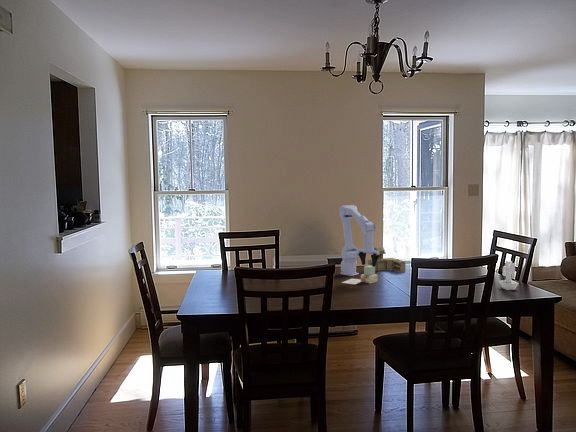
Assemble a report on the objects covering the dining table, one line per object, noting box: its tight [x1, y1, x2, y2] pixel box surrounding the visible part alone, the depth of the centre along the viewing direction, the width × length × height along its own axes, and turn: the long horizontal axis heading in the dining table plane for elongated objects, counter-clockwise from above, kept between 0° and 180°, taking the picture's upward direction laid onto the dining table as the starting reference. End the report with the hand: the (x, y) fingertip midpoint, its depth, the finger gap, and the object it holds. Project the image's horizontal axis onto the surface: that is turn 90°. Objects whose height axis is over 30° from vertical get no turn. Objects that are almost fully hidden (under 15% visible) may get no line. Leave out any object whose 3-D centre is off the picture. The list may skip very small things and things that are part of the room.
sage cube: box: [363, 264, 376, 276], centre depth 265 cm, size 4×4×5 cm
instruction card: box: [341, 278, 362, 285], centre depth 267 cm, size 9×12×1 cm
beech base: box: [360, 273, 379, 284], centre depth 265 cm, size 7×7×4 cm
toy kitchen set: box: [367, 246, 406, 274], centre depth 292 cm, size 18×17×15 cm
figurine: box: [498, 260, 519, 291], centre depth 239 cm, size 7×9×15 cm
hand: (368, 265), depth 265 cm, fingers open, 7 cm apart
